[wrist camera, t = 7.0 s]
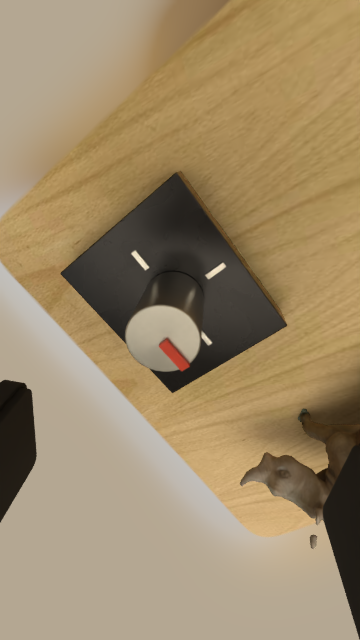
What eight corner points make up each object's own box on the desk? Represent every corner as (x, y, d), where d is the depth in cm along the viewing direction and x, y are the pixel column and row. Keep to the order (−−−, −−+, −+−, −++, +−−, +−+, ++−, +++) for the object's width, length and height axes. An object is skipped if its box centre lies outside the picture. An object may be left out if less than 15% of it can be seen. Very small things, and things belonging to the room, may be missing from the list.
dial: (132, 294, 22) (107, 335, 17) (178, 258, 21) (166, 291, 16) (170, 336, 24) (157, 387, 18) (216, 305, 22) (216, 350, 17)
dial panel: (73, 263, 24) (58, 274, 22) (180, 170, 21) (176, 172, 19) (175, 374, 28) (172, 394, 26) (281, 310, 25) (288, 327, 22)
